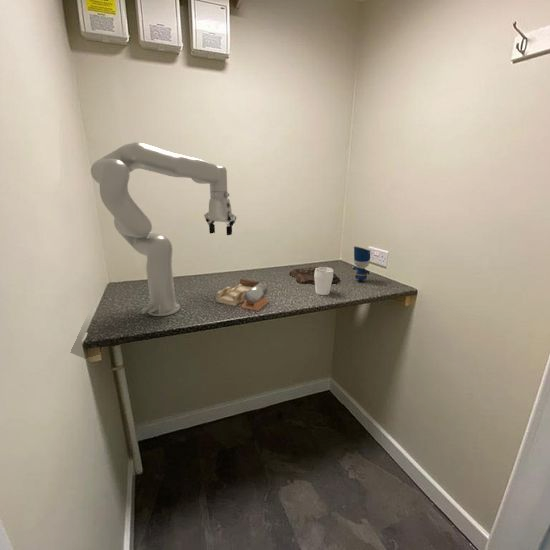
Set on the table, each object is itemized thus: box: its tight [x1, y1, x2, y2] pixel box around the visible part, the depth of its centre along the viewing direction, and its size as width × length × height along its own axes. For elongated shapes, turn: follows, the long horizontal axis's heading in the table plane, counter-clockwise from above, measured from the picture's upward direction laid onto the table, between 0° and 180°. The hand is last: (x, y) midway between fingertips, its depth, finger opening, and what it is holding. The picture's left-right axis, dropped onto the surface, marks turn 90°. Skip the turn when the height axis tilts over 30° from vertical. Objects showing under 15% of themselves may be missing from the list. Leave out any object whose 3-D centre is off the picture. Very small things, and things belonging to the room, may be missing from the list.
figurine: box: [352, 246, 372, 282], centre depth 153 cm, size 13×9×20 cm
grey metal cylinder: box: [244, 282, 268, 304], centre depth 123 cm, size 10×6×6 cm, turn 154°
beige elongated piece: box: [215, 278, 260, 307], centre depth 133 cm, size 21×10×5 cm, turn 154°
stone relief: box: [289, 266, 341, 286], centre depth 162 cm, size 26×4×30 cm
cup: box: [314, 266, 334, 296], centre depth 138 cm, size 9×9×12 cm
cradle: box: [241, 295, 270, 312], centre depth 124 cm, size 10×8×3 cm
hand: (220, 234), depth 132 cm, fingers open, 9 cm apart
